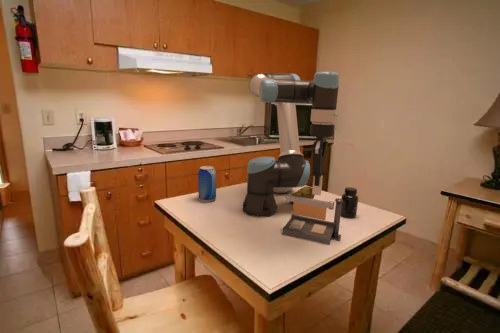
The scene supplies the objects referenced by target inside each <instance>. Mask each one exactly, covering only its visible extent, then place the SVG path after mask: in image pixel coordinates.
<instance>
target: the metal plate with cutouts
mask: <svg viewBox="0 0 500 333" xmlns="http://www.w3.org/2000/svg"><path fill="white" fill-rule="evenodd" d="M333 225H334V221H328V220H321V219H316V218H310V217H305V216H300V215H295V214H293V213H292V214H291V216H290V218H289V220H288V221H287V222H286V224H285V225H284V226H283V228H282V231H281V232H282V235H284V236H290V237H294V238H298V239H301V240H307V241H310V242H314V243H315V242H316V243H320V244H324V245H329V246H330V245H331V242H332V234H333Z"/></svg>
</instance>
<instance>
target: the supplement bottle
mask: <svg viewBox="0 0 500 333" xmlns="http://www.w3.org/2000/svg"><path fill="white" fill-rule="evenodd" d="M357 194H358V189H357V188H355V187H352V186H351V187H349V186H348V187H347V186H346V187H345V188H344V193H342V195H341V198H340V199H343V202H342V207H341V216H342V217H343V218H347V219H353V218H356V216H357V212H358V204H359V196H358V195H357ZM341 216H340V217H341Z"/></svg>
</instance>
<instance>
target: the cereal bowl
mask: <svg viewBox="0 0 500 333" xmlns="http://www.w3.org/2000/svg"><path fill="white" fill-rule="evenodd" d="M293 189H294V187H282V188H274V194H275V193H276V194H285V193H287V192H289V191H291V190H293Z"/></svg>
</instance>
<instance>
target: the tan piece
mask: <svg viewBox="0 0 500 333" xmlns="http://www.w3.org/2000/svg"><path fill="white" fill-rule="evenodd" d="M285 201H286V202H289V201H291V202H294V203H292V204H293V205H292V206H293V207H292V214H293V215H298V216H303V217H308V218H313V219H319V220H324V221H327V220H326V219H327V218H326V216H327V209H329V210H335V202H334V201H328V200H320V199H315V198H313V199H309V198H303V197H297V196H291V195H290V194H287V195H286V196H285Z"/></svg>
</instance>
